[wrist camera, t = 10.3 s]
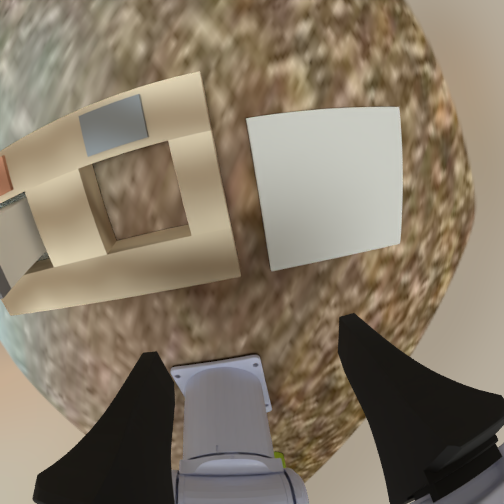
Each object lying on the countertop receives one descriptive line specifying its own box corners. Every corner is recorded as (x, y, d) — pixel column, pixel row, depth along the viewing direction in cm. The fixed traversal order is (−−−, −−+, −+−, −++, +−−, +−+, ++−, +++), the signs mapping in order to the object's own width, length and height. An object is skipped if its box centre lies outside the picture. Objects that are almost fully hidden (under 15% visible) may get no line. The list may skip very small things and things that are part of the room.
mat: (396, 240, 20) (400, 243, 20) (270, 267, 20) (271, 271, 20) (395, 106, 16) (399, 107, 15) (245, 118, 15) (246, 118, 15)
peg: (53, 243, 17) (3, 298, 11) (19, 253, 17) (-29, 304, 11) (35, 192, 15) (-27, 233, 9) (2, 207, 15) (-55, 247, 9)
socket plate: (238, 260, 20) (241, 279, 17) (20, 302, 19) (9, 317, 17) (202, 76, 14) (199, 70, 12) (-30, 176, 14) (-48, 184, 11)
